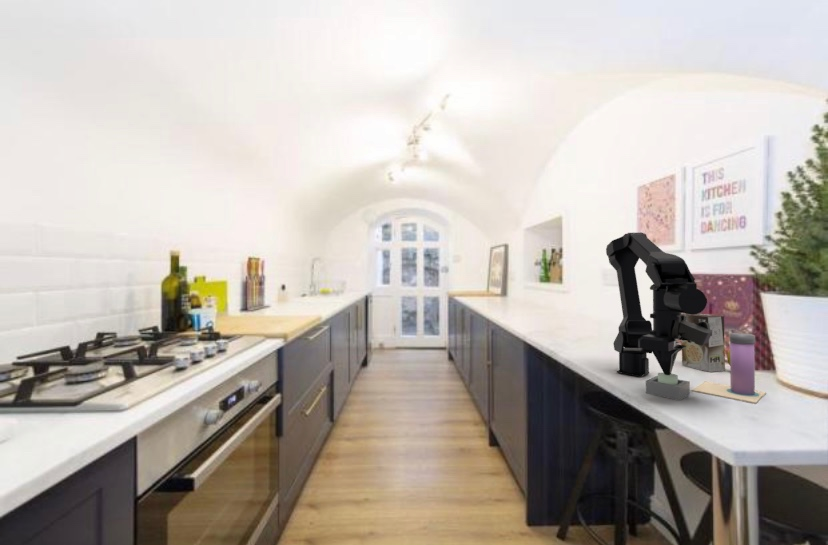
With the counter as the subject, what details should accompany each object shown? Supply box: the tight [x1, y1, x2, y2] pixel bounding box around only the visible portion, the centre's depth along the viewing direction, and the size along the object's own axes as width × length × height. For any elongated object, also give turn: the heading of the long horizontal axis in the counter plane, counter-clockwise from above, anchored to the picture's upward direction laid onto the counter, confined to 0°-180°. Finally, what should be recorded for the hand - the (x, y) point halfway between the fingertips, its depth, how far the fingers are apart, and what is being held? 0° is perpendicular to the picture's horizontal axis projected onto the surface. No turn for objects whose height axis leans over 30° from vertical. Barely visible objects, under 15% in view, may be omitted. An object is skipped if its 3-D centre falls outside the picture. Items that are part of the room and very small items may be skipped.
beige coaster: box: [690, 381, 767, 404], centre depth 94 cm, size 12×11×1 cm
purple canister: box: [729, 332, 756, 395], centre depth 92 cm, size 5×5×14 cm
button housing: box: [645, 375, 691, 401], centre depth 93 cm, size 7×7×3 cm
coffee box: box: [681, 313, 726, 373], centre depth 117 cm, size 9×6×16 cm
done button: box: [657, 372, 678, 385], centre depth 93 cm, size 4×4×4 cm
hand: (667, 374), depth 93 cm, fingers closed, pressing on done button
